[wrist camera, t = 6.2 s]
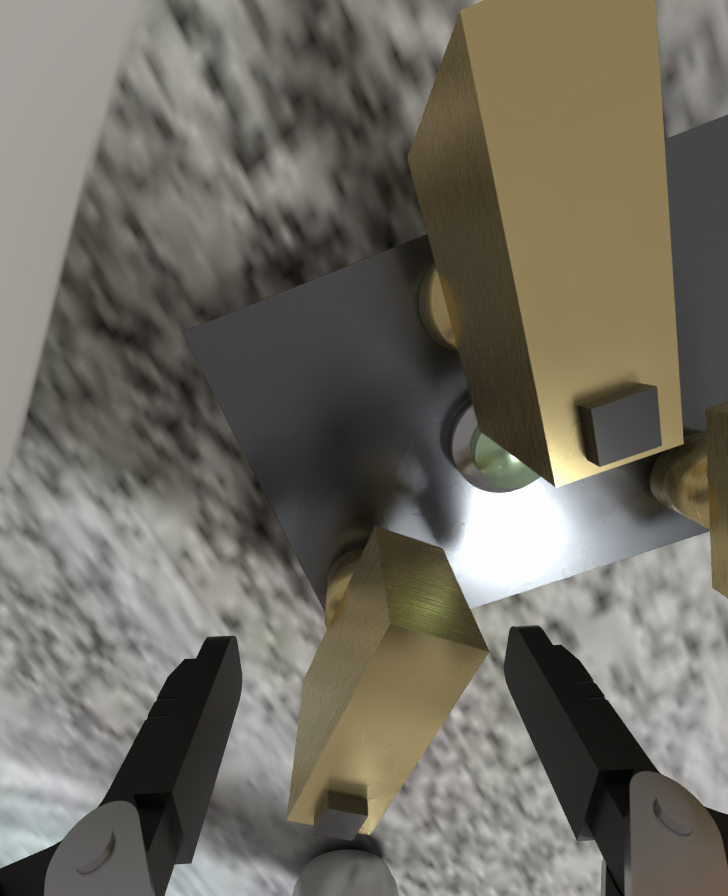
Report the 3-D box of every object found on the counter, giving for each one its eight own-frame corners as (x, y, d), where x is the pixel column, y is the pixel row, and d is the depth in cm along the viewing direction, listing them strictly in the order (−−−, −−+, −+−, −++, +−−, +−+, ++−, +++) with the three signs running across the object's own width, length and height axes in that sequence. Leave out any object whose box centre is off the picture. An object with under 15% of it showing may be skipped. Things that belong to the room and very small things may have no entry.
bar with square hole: (384, 194, 9) (441, -2, 4) (487, 153, 9) (704, -118, 4) (449, 419, 11) (548, 501, 6) (535, 388, 11) (720, 443, 6)
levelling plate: (671, 147, 11) (801, 74, 8) (692, 496, 15) (782, 540, 12) (208, 331, 12) (159, 332, 9) (344, 612, 16) (343, 680, 13)
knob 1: (362, 494, 12) (377, 632, 6) (436, 520, 12) (508, 668, 7) (301, 634, 14) (271, 835, 8) (367, 652, 14) (381, 854, 9)
